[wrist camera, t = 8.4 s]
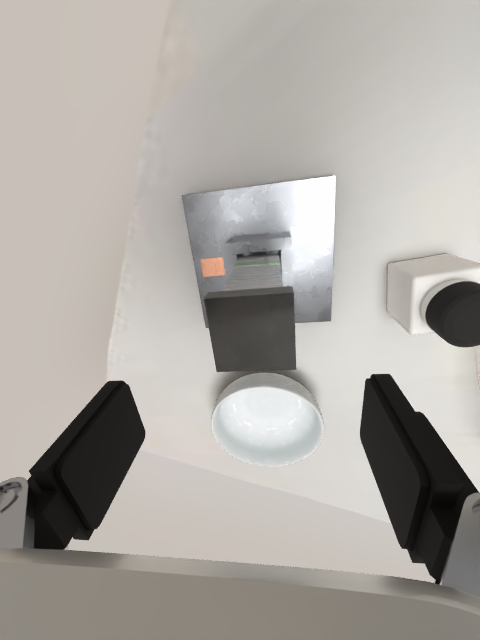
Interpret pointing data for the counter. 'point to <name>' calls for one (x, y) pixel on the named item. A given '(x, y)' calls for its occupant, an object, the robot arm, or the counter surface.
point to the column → (253, 318)
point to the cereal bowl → (267, 420)
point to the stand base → (268, 238)
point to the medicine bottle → (436, 297)
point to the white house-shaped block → (477, 361)
